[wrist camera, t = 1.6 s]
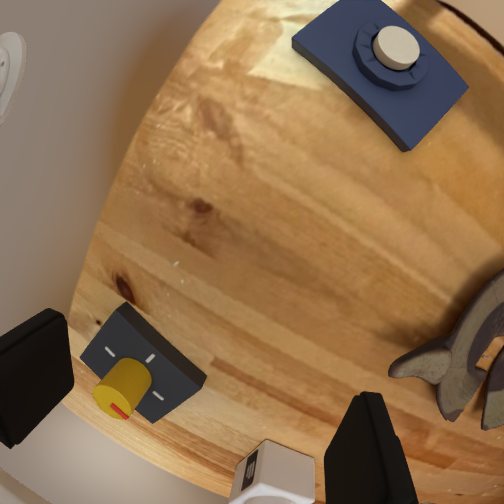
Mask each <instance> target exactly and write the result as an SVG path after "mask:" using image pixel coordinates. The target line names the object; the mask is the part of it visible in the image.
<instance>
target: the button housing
mask: <svg viewBox="0 0 504 504" xmlns="http://www.w3.org/2000/svg"><path fill="white" fill-rule="evenodd" d="M387 26H397V27H400V28H403V29H405V30H407V31H408V32H409V33H410V34H412V35H413V37H414V38H415V39H416V41H417V43H418V45H419V50H420V53H419V57H418V58H417V60H416V61H415V62H414V63H413V64H411V65H410V66H409V67H408V68H406V69H404V70H394V69H390V68H388V67H386V66H385V65H383V64H382V63H381V62H380V61H379V60H378V59H377V57H376V55H375V53H374V50H373V43H374V40H375V39H376V37H377V35H378V34H379V32H380V31H381V30H382V29H383V28H385V27H387ZM292 48H293V49H295V50H296V51H297V52H298V53H300V54H301V55H302V56H303V57H305V58H306V59H307V60H308V61H310V62H311V63H312V64H313V65H314V66H316V67H317V68H318V69H319V70H320V71H322V72H323V73H324V74H325V75H326V76H327V77H328V78H330V79H331V80H332V81H333V82H334V83H335V84H336V85H337V86H339V87H340V88H341V89H342V90H343V91H344V92H345V93H346V94H347V95H348V96H349V97H350V98H351V99H353V100H354V101H355V102H356V103H357V104H358V105H359V106H360V107H361V108H362V109H363V110H364V111H365V112H366V113H367V114H368V115H369V116H370V117H371V118H372V119H373V120H374V121H375V122H376V123H377V124H378V125H379V127H380V128H381V129H382V130H383V131H384V132H385V133H386V134H387V135H388V136H389V137H390V138H391V139H392V141H393V142H394V143H395V144H396V145H397V146H398V147H399V148H400V150H401V151H402V152H406V151H410V150H412V149H413V148H414V147H415V146H416V145H417V144H418V143H419V142H420V141H421V140H422V139H423V137H424V136H425V135H426V134H427V133H428V132H429V131H430V130H431V129H432V128H433V127H434V126H435V125H436V124H437V122H438V121H439V120H440V119H441V118H442V117H443V116H444V115H445V114H446V113H447V112H448V110H449V109H450V108H451V107H452V106H453V105H454V104H455V103H456V102H457V100H458V99H459V98H460V97H461V96H462V95H463V94H464V93H465V92H466V90H467V89H468V88H469V86H468V85H467V84H466V83H465V81H464V80H463V79H462V78H461V77H460V76H459V74H458V73H457V72H456V71H455V70H454V69H453V68H452V66H451V65H450V64H449V63H448V62H447V61H446V60H445V59H444V58H443V57H442V56H441V54H440V53H439V52H438V51H437V50H436V49H435V48H434V47H433V46H432V45H431V44H430V43H429V42H428V41H427V40H426V39H425V38H424V37H423V36H422V35H421V34H419V33H418V32H417V31H416V30H415V29H414V28H413V27H412V26H411V25H410V24H409V23H407V22H406V21H405V20H404V19H403V18H402V17H401V16H399V15H398V14H397V13H396V12H395V11H393V10H392V9H391V8H390V7H389V6H387V5H386V4H385V3H384V2H382V1H381V0H339V1H338V2H336V3H335V4H334V5H332V6H331V7H330V8H328V9H327V10H326V11H324V12H323V13H322V14H320V15H319V16H318V17H316V18H315V19H314V20H313V21H311V22H310V23H309V24H308V25H306V26H305V27H304V28H303V29H301V30H300V31H299V32H298V33H297V34H295V35H294V36H293V37H292Z"/></svg>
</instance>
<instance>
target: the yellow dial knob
mask: <svg viewBox="0 0 504 504" xmlns="http://www.w3.org/2000/svg"><path fill="white" fill-rule="evenodd" d="M151 382H152V379H151V375H150V373H149V371H148V369H147V368H146V367H145V366H144V365H143V364H142V363H140V362H139V361H137V360H135V359H132V358H123V359H121V360H119V361H118V363H117V364H116V365H115V366H114V367H113V368H112V369H111V370H110V371H109V372H108V373H107V375H106V376H105V377H104V378H103V379H102V380H101V381H100V382H99V383H98V384H97V386H96V387H95V388H94V390H93V397H94V400H95V402H96V403H97V405H98V406H99V407H100V408H101V409H102V410H103V411H104V412H105V413H106V414H108V415H109V416H111V417H114V418H116V419H125V420H126V419H128V418H129V417H130V415H131V414H132V412H133V411H134V409H135V408H136V406H137V405H138V403H139V402H140V400H141V399H142V397H143V396H144V394H145V393H146V391H147V390H148V388H149V387H150V385H151Z"/></svg>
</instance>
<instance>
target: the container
mask: <svg viewBox="0 0 504 504" xmlns="http://www.w3.org/2000/svg"><path fill="white" fill-rule="evenodd" d="M313 502H315V469H314V458H312V457H309V456H307V455H304V454H301V453H299V452H296V451H294V450H291V449H289V448H286V447H284V446H281V445H279V444H276V443H274V442H272V441H269V440H265V441H264V442H262V443H261V444H260V445H259V446H258V447H257V448H256V449H255V450H254V451H252V452H251V453H250V454H249V455H248V456H247V457H246V458H245V459H243V460H242V461H241V462H240V463H239V464H238V465H237V467H236V472H235V476H234V481H233V485H232V489H231V494H230V498H229V502H228V504H312V503H313Z"/></svg>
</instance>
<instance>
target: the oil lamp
mask: <svg viewBox="0 0 504 504" xmlns="http://www.w3.org/2000/svg"><path fill="white" fill-rule="evenodd" d="M498 336H504V268H503V269H502V270H501V271H499V272H498V273H497V274H496V275H494V276H493V277H492V278H491V279H490V280H489V281H488V282H487V283H486V284H485V285H484V286H483V287H482V288H481V289H480V290H479V292H478V293H477V294H476V295H475V296H474V298H473V299H472V300H471V302H470V303H469V305H468V306H467V308H466V309H465V310H464V312H463V313H462V315H461V316H460V318H459V319H458V321H457V323H456V325H455V327H454V329H453V331H452V332H451V333H449V334H447V335H444V336H440V337H437V338H434V339H432V340H430V341H428V342H427V343H425V344H423V345H421V346H420V347H418V348H416V349H414V350H412V351H410V352H408V353H407V354H404V355H403V356H401V357H399V358H398V359H396V360H395V361H394V362H393V363H392V364H391V365H390V368H389V371H388V376H389V377H392V378H404V377H410V376H411V377H418V378H420V379H422V380H424V381H426V382H429V383H430V384H434V385H436V399H437V404H438V407H439V409H440V412H441V414H442V416H443V417H444V419H445V420H446V421H447V419H448V420H449V421H451V422H455V420H456V419H457V418H458V417H459V415H460V413H461V412H462V411H463V410H464V408H465V406H466V404H467V403H468V402H469V401H470V400H471V398H472V397H473V395H474V393H475V392H476V391H477V389H478V388H479V387H480V385H481V383H482V382H483V381H484V379H485V377H486V376H487V371H486V370H483V369H481V368H478V367H475V366H476V364H477V362H478V361H479V359H480V357H481V356H482V354H483V353H484V352H485V351H486V349H487V348H488V346H489V345H490V343H491V342H492V340H493V339H494V338H495V337H498ZM483 357H486V356H483ZM489 357H490V356H489ZM502 425H504V349H503V350H502V352H501V353H500V354H499V356H498V358H497V359H496V360H495V362H494V364H493V367H492V369H491V370H490V374H489V378H488V381H487V389H486V393H485V400H484V407H483V413H482V419H481V429H482V430H485V431H486V430H489V429H491V428H497V427H499V426H502Z"/></svg>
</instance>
